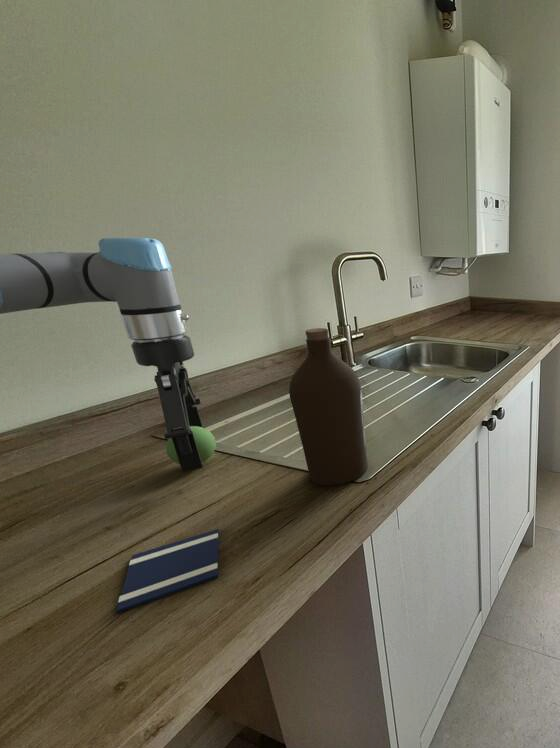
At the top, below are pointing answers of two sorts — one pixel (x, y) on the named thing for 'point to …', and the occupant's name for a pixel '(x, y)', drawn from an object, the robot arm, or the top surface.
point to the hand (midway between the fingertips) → (195, 453)
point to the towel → (170, 569)
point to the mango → (203, 442)
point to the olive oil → (329, 413)
